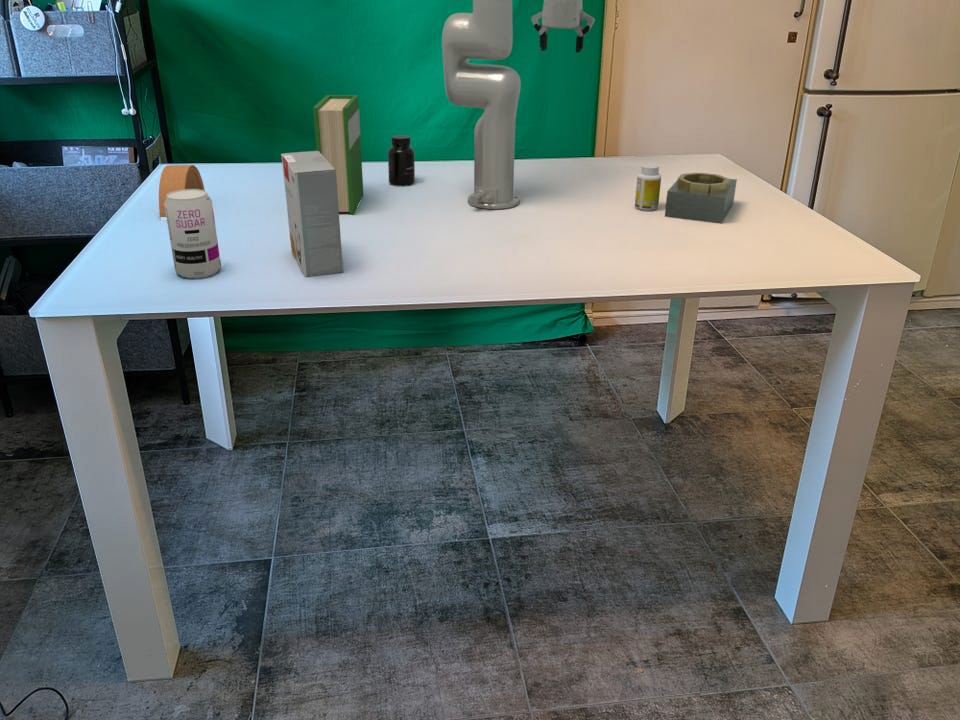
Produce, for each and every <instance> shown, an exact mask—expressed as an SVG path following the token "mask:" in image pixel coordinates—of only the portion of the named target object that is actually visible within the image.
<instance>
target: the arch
mask: <svg viewBox="0 0 960 720" xmlns="http://www.w3.org/2000/svg"><path fill="white" fill-rule="evenodd" d="M158 185H159V186H158V210H159V217H166V212H165V206H164V203H165V200H166V197H167V196H166V195H167V194H168V193H170V192H173V191H177V190H183V189H200V190H204V191H206V190H205V187H204V182H203V178H202V175H201V173H200V170H199V169H198V167H197V166H196V165H194V164H175V165H174V164H170V165H169V164H167V165H165V166H164V167H163V169H162V171H161V174H160V178H159V184H158Z"/></svg>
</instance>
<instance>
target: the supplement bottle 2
mask: <svg viewBox="0 0 960 720" xmlns="http://www.w3.org/2000/svg"><path fill="white" fill-rule="evenodd" d="M659 168H660V165H658V164H655V163H653V164H652V163H644V164H642V165H641V168H640V169H641V171H640V172H639V173H638V174H637V178H636V186H635V187H636V188H635V197H634V199H635V200H634V207H635V208H636V210H639V211H645V212H653V211H656V210H657V209H659V205H660V204H659V202H660V194H661V193H660V192H661V186H662V185H661V182H662V174H660V173H659V171H660V169H659Z"/></svg>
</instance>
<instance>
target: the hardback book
mask: <svg viewBox="0 0 960 720" xmlns="http://www.w3.org/2000/svg"><path fill="white" fill-rule="evenodd" d="M312 113H313V126H314V139H315V151H319V152H320V153H321V154H322V155H323V156H324V158H325V159H326V160H327V161H328V162H329V163H330V164H331V165H332V166H333V167H334V169H335V170H336V182H337V195H338V209H339V213H349V216H350V215H355V214H356V212H357V210H358V208H357V206H358V204H359V202H360V200H361V198H362V199H363V197H364V195H363V194H364V179H363V176H364V175H363V160H362V143H361V125H360V123H361V122H360V108H359V94H358V95H354V94H353V95H351V94H350V95H345V94H341V95H340V94H339V95H337V94H326V95H325V96H324V97H323V98H322V99H321V100H320V101H319V102H318V103H316V104H315V105H314V106H313V107H312ZM362 196H363V197H362ZM361 201H362V200H361ZM360 203H361V202H360ZM359 205H360V204H359ZM358 207H359V206H358ZM356 209H357V210H356ZM355 211H356V212H355ZM354 213H355V214H354Z"/></svg>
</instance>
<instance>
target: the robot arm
mask: <svg viewBox="0 0 960 720" xmlns="http://www.w3.org/2000/svg"><path fill="white" fill-rule="evenodd" d="M530 19H531V20H530V21H531V23H532V24H533V27H534V29H535V31H537V33H538V35H539V48H540V50H541V52H543V51H547V49H548V34H547V32H548V31H549V29H560V30H562V29H563V30H564V29H565V30H566V29H568V30H572V29H574V31H575V33H577V36H576V39H575V53H580V52H582V50H583V48H584V40H585V39H584V37H585V36H586V34H588V32H589V31H590V30H591V28H592V26H593V25H594V23H595V20H596V19H595V18H594V17H593V16H591V15H589V14H588V13H586V12H585V11H583V0H543V6H542V11H539V12H537V13H536V14H534V15H532V16H531V17H530ZM539 19H541V24H542V25H541V24H540V23H539ZM583 20H585V21H587V23H586V25H585V27H582V24H583ZM513 31H514V30H513V0H472V12H456V13H453V14H451V15H450V16H448V18H447V19H446V20H445V22H444V26H443V29H442V32H441V33H442V36H441V49H442V63H443V65H442V66H443V75H444V76H443V77H444V78H443V79H444V89H445V95H446V97H447V99H448V101H449V102H450V103H451V104H452V105H455V106H458V107H468V108H477V109H478V108H479V109H483V110H484V112H483V114H481V117H479V119H478V120H477V122H476V124H475V126H474V132H473V133H474V137H473V138H474V139H473V141H474V149H473V150H474V153H473V154H474V158H473V159H474V160H473V161H474V162H473V163H474V167H473V171H474V172H473V173H474V174H473V181H474V182H473V183H474V184H473V185H474V186H473V193H472V194H470V195H468V196H467V203H468V204H469V205H470V206H472V207H476V208H479V209H485V210H486V209H487V210H488V209H489V210H503V209H508V208H513V207H516V206H518V205H519V204H520V201H521V199H520V196H518V195H517V194H516V193H515V194H514V183H515V181H514V180H515V179H514V177H515V149H516V148H515V147H516V146H515V145H516V142H515V141H516V139H515V138H516V135H515V134H516V120H517V119H516V118H517V109H518V105H519V104H518V103H519V98H520V95H521V94H520V92H521V86H522V85H521V77H520V74H518V72H517V71H516V70H514V68H512V67H509V66H506V65H500V64H488V63H487V64H486V63H484V64H482V63H480V64H479V63H469V60H484V61H485V60H486V61H487V60H488V61H498V60H504V59H506V58H508V57H509V56H510V54H511V52H512V49H513V41H514V40H513V37H514V33H513Z"/></svg>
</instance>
